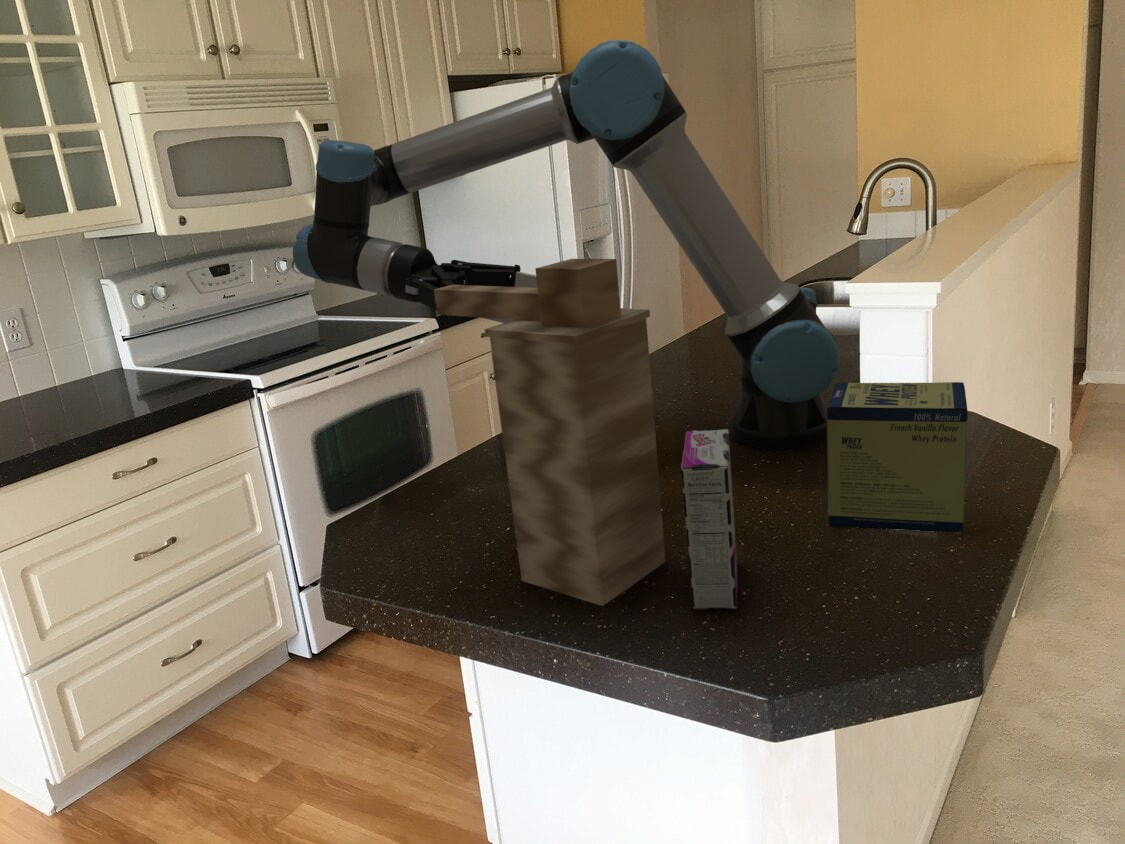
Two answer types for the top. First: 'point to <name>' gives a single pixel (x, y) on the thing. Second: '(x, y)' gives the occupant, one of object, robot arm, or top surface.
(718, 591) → the candy bar box
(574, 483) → the block
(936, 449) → the protein box
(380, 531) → the top surface
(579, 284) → the mallet
